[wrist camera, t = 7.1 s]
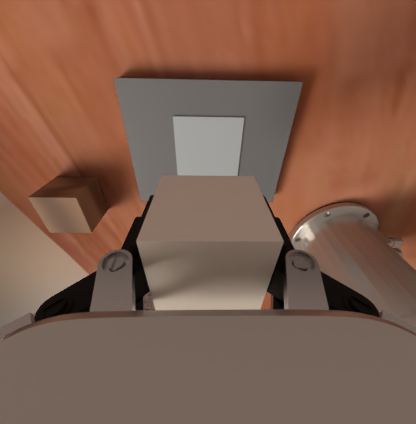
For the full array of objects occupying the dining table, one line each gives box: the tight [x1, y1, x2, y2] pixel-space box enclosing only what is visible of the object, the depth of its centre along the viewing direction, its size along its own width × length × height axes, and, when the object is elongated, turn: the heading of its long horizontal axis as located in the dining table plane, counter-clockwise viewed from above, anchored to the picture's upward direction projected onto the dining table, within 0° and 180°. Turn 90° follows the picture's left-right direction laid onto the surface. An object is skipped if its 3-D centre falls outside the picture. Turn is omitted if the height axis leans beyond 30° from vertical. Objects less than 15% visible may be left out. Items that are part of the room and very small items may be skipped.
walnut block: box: [28, 177, 108, 233], centre depth 24 cm, size 5×5×5 cm
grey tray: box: [114, 77, 303, 202], centre depth 22 cm, size 17×13×2 cm
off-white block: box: [136, 175, 284, 310], centre depth 10 cm, size 5×5×5 cm
